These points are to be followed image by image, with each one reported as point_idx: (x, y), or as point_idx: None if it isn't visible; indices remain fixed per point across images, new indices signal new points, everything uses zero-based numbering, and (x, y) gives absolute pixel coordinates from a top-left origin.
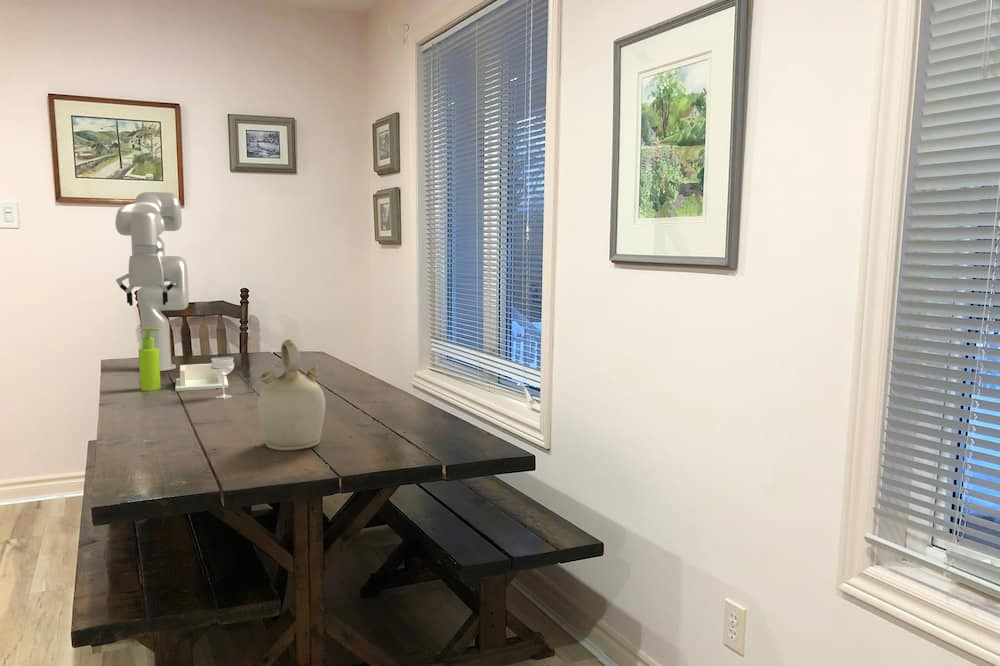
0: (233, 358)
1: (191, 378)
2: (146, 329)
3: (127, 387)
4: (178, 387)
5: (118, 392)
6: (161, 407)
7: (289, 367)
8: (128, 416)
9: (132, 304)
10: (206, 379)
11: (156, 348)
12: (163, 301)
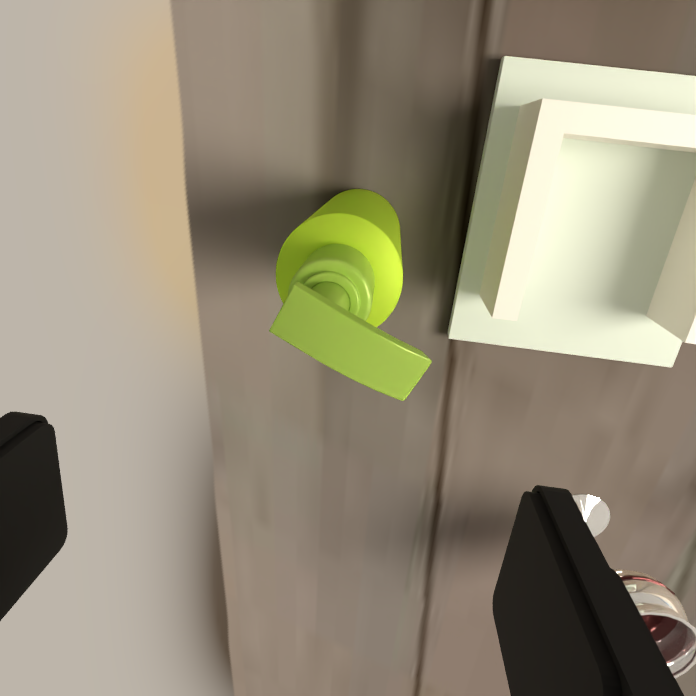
0: (691, 665)
1: (570, 138)
2: (307, 350)
3: (260, 125)
4: (463, 328)
5: (229, 245)
6: (365, 568)
7: None
8: (277, 623)
9: (53, 467)
10: (640, 165)
11: (387, 289)
12: (510, 653)
